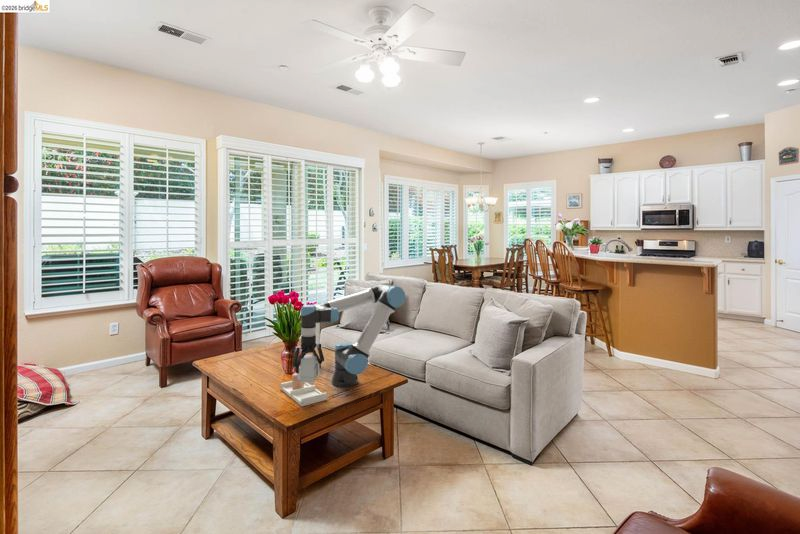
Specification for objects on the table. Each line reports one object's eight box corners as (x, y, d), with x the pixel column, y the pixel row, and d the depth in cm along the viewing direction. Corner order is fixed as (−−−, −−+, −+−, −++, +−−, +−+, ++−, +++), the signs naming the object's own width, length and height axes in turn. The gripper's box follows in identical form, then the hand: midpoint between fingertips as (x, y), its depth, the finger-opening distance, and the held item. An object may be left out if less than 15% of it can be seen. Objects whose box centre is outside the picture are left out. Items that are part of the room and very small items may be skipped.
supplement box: (314, 382, 203) (314, 358, 202) (299, 382, 203) (299, 358, 202) (317, 377, 211) (317, 354, 210) (303, 377, 211) (303, 354, 210)
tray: (304, 383, 228) (304, 368, 227) (326, 399, 207) (326, 382, 206) (280, 389, 219) (280, 373, 219) (301, 406, 198) (301, 388, 198)
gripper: (324, 330, 215) (324, 370, 217) (284, 336, 201) (284, 379, 203) (331, 333, 210) (331, 374, 211) (290, 339, 196) (290, 383, 197)
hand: (308, 376), depth 207 cm, fingers closed on supplement box, 10 cm apart
